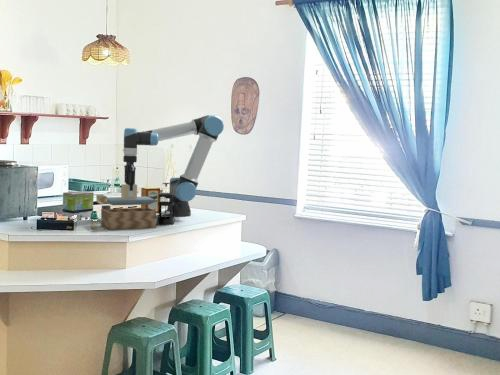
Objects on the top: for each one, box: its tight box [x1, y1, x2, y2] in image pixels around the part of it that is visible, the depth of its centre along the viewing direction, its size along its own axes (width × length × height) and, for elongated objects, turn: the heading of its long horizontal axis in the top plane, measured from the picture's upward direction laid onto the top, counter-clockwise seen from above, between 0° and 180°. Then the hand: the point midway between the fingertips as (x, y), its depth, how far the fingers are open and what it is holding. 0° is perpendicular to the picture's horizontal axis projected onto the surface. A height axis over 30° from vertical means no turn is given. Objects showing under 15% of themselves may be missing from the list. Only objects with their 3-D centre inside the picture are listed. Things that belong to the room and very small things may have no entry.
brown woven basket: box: [100, 204, 157, 231], centre depth 334 cm, size 26×17×10 cm, turn 119°
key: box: [95, 194, 108, 205], centre depth 342 cm, size 4×9×4 cm, turn 29°
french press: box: [156, 182, 176, 226], centre depth 347 cm, size 12×9×23 cm
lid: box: [106, 183, 155, 206], centre depth 357 cm, size 26×14×11 cm, turn 119°
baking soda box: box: [140, 186, 161, 214], centre depth 384 cm, size 10×6×16 cm
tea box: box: [61, 190, 95, 220], centre depth 357 cm, size 15×10×15 cm
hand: (129, 195), depth 357 cm, fingers closed on lid, 4 cm apart
